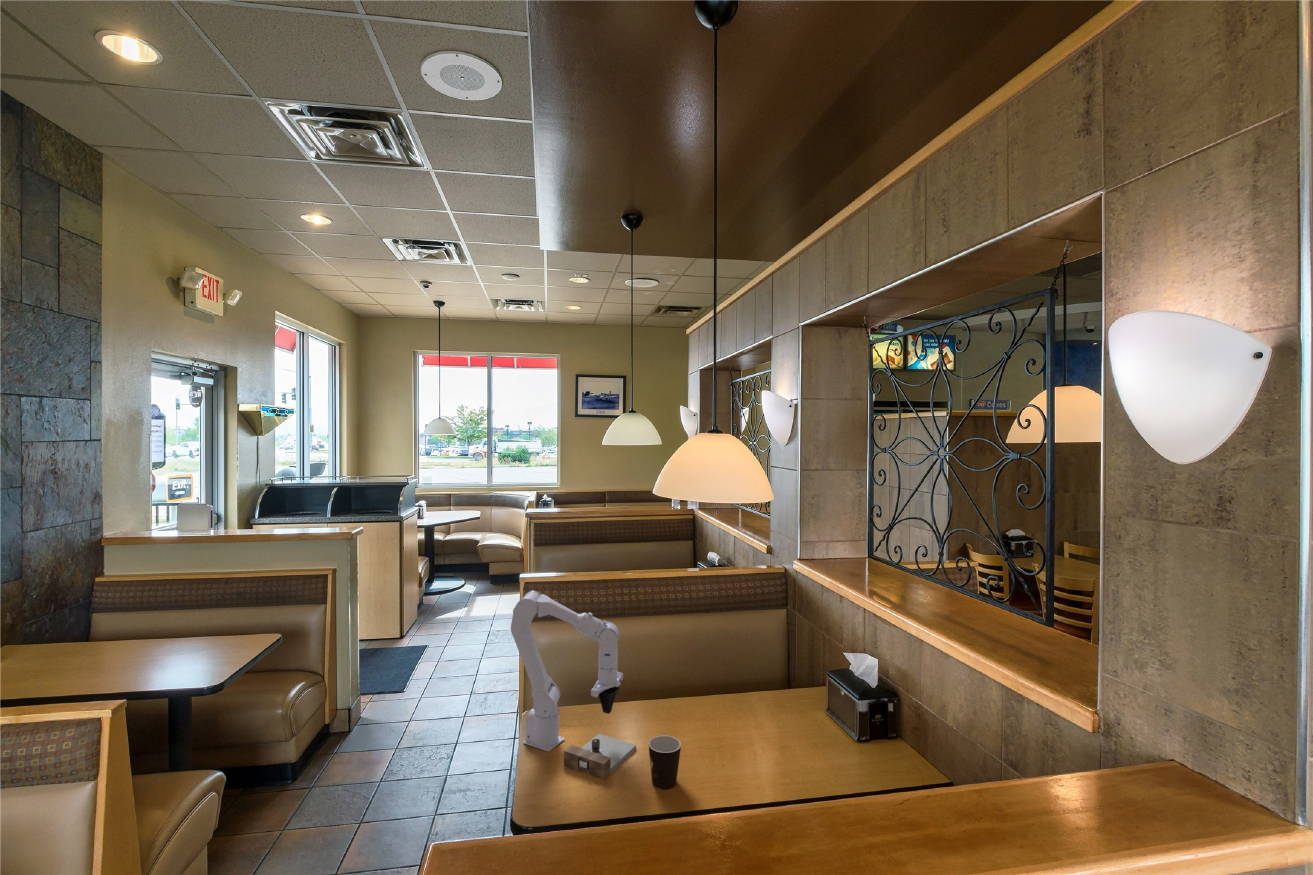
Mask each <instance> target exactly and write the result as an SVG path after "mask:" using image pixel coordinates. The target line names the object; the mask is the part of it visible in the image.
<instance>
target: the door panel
mask: <svg viewBox="0 0 1313 875" xmlns="http://www.w3.org/2000/svg"><path fill="white" fill-rule="evenodd" d="M593 739H599V740H600V750H601V753H599V754H601V755H604V756H607V757H610V758H611V773H612V772H614V771H615V770H616V769H617V768H618V767H619V766H620V765H621V764H622V763H623V762H624V761H625V760H626V759H627V758H629V756H631V755H632V753H634V752H635V751H636V750H637V744H634V743H631V742H627V741H625V740H621V739H617V738H614V737H611V736H607V735H605V734H601V733H597V735H596V736H594V737H593V738H592V739H590V740H589V741H588V742H587V743H585V744H584V745H583V746H582V747H581V748H582V749H585V750H589V751H591V750H592V740H593Z"/></svg>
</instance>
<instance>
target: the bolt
mask: <svg viewBox="0 0 1313 875" xmlns="http://www.w3.org/2000/svg"><path fill="white" fill-rule="evenodd" d="M592 739H593V738H592ZM592 739H591V740H592ZM591 751H592V752H595V753H598V754H599V753H601V750H600V740H599V739H593V740H592V750H591ZM579 766H580V767H583V768H586V769H587V768H588V767H589V762H587V761H584V760H580V764H579Z"/></svg>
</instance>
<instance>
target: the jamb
mask: <svg viewBox="0 0 1313 875" xmlns="http://www.w3.org/2000/svg"><path fill="white" fill-rule="evenodd" d="M580 760H584V761H587V762H589V767H588V768H587V769H586V768H583V767H580V766H579V764H580ZM563 767H564V768H568V769H571V770H573V771H576V772H580V773H581V774H585V775H588V776H590V777H593V778H596V779H599V780H602V781H604V780H605V779H606V778H607V777H609V775H611V773H612V772H611V758H610V757H607V756H604V755H601V754H598V753H595V752H592V751H589V750H585V749H582V747H579V746H576V745H573V744H572V745H570V746H569V747H567V748H566V749H564V750H563Z"/></svg>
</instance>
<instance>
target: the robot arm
mask: <svg viewBox="0 0 1313 875" xmlns="http://www.w3.org/2000/svg"><path fill="white" fill-rule="evenodd" d="M536 615H537V618H542V617H545V616H548V615H550V616H551V617H554V618H557V619H559V620H561V621H564V622H566V623H569V624H571V625H573V627H574V629H575V631H576V632H578V633H580V634H582V635H584V636H586V637H589V638H590V639H593V640H594V641H597V643H598V644H599V645H598V646H599V649H598V664H597V665H598V667H597V668H598V670H597V681H596V682H595V684H594V686H593V688H591V690H590V696H591V697H594V698H599V701H600V706H601V710H602V712H603V713H604V714H611V712H612V710H613V706H614V702H615V699H616V696H617V694H618V692H619V690H620V686H621V681H622V680H623V679H624V673H623V672H620V671H618V662H619V657H618V656H619V650H618V648H619V647H618V645H619V644H618V640H619V634H620V631H619V627H618V626H617V625H616V624H615V623H613V622H612V621H607V620H605V619H603V620H601V619H600V618H597V617H596V616H593V615H594V613H592V612H590V611H589V612H588V613H587V612H582V613H577V612H576V611H573V610H572V609H570V608H569V607H567V606H565V605H564V604H562V603H559V602H558V601H556V600H554V599H552V598H550V597H549V596H548V595H546V594H543V593H542V594H541V593H540V592H538V591H536V590H531V591H528V592H526V593H525V594H524V596H523V597H522V598H520V600H518V602H516V604H515V606H514V608H513V610H512V618H511V624H510V632H511V635H512V638H513V639H514V642H515V644H516V647H517V648H516V649H517V650H518V653H519V656H520V658H521V660H522V663H523V666H524V669H525V671H526V674H527V676H528V678H529V679H528V680H529V681H530V684H531V698H532V700H533V708H531V709H530V710H529V712H528V713H527V715H526V718H525V730H524V731H525V733H524V734H525V736H524V739H525V740H524V741H523V744H524V745H527V746H529V747H530V746H531V747H533V748H535V749H539V750H543V751H545V752H550V751H551V750H552V749H554V748H555V747H557V746H558V745H559V744H561V743H562V742H563V741H564V740H565V737H564V736H561V735H560V734H559V732H560V708H559V705H558V704H557V703H558V702H559V700H560V697H561V690H560V688H559V687H558V684H557V685H556V683H555V682H554V681H553V678H552V677H551V676H549V675H548V672H547V670H546V667H545V664H544V661H543V659H542V656H541V654H540V651H539V649H538V647H537V646H538V645H537V643H536V641H535V638H534V636H533V633H532V631H531V627H530V625H531V624H532V621H533V619H534V617H535V616H536Z"/></svg>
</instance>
